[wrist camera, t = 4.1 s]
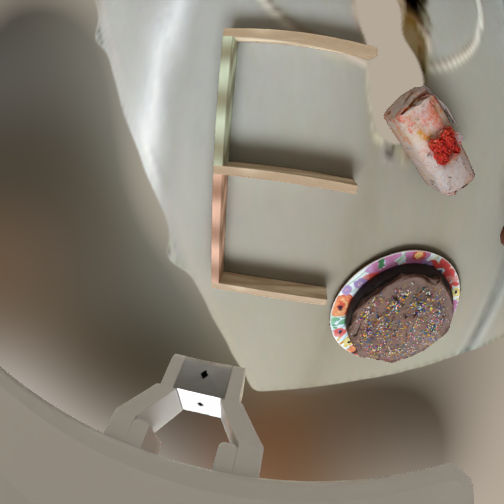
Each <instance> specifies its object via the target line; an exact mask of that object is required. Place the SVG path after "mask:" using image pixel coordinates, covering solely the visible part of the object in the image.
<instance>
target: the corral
mask: <svg viewBox="0 0 504 504" xmlns="http://www.w3.org/2000/svg"><path fill="white" fill-rule="evenodd" d="M238 42H256V43H273V44H285V45H294V46H302V47H309V48H316V49H322V50H328V51H333V52H338V53H343V54H347V55H352V56H356V57H360V58H364V59H368V60H371V59H372V58H374V57H376V56H377V48H376V47H372V46H369V45H365V44H361V43H357V42H353V41H349V40H344V39H339V38H334V37H329V36H324V35H317V34H311V33H304V32H295V31H286V30H274V29H254V28H224V32H223V42H222V52H221V62H220V73H219V85H218V99H217V113H216V129H215V147H214V169H213V198H212V288H217V289H223V290H228V291H234V292H240V293H246V294H252V295H258V296H265V297H271V298H277V299H284V300H291V301H298V302H305V303H312V304H319V305H326V302H327V292H326V287H323V286H316V285H309V284H302V283H295V282H288V281H282V280H275V279H269V278H262V277H256V276H250V275H243V274H237V273H231V272H225V271H224V245H225V220H226V199H227V180H228V175H230V176H240V177H248V178H257V179H265V180H272V181H280V182H287V183H293V184H300V185H306V186H312V187H318V188H324V189H330V190H335V191H341V192H346V193H351V194H356V192H357V188H358V185H357V184H356V183H355V181H354V180H353V179H349V178H344V177H339V176H334V175H328V174H323V173H317V172H311V171H305V170H298V169H292V168H285V167H277V166H270V165H262V164H253V163H244V162H234V161H229V147H230V132H231V118H232V105H233V92H234V81H235V69H236V59H237V48H238Z"/></svg>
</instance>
